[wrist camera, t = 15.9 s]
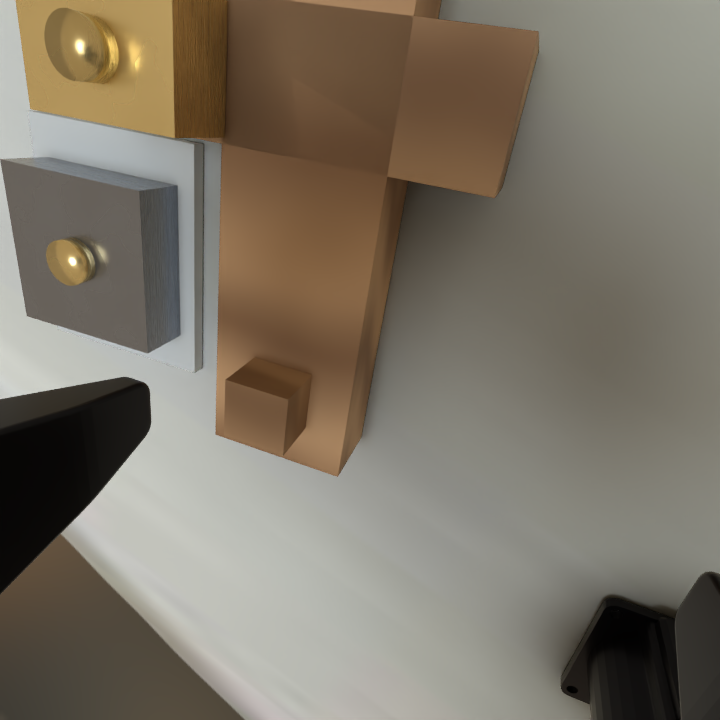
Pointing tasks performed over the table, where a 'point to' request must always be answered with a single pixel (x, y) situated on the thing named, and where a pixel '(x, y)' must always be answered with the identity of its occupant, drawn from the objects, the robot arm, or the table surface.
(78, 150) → the mat
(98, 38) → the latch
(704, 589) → the robot arm
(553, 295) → the table surface
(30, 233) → the cap plate
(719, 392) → the table surface
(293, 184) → the plane body
